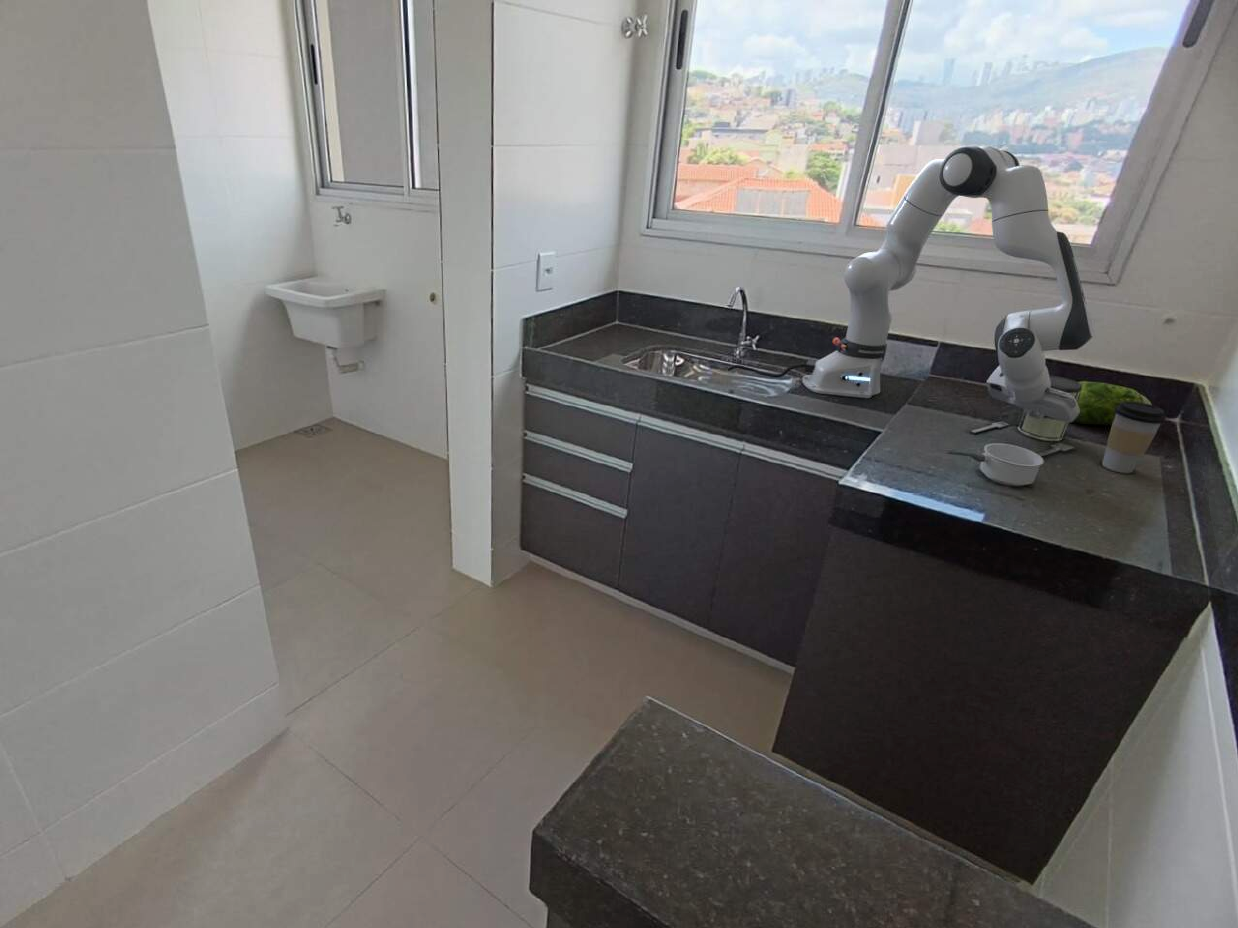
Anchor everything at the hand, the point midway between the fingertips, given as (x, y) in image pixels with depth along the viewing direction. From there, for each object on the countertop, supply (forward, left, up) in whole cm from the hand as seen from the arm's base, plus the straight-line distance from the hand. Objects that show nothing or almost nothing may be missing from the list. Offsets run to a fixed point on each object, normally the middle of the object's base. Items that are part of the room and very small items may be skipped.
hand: (1036, 415), depth 164 cm
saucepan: (-24, -23, -6) cm, 34 cm away
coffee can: (+5, +3, -6) cm, 8 cm away
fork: (-8, +5, -6) cm, 11 cm away
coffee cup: (+11, -16, -6) cm, 21 cm away
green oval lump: (+27, +12, -6) cm, 30 cm away
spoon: (0, -9, -6) cm, 11 cm away
